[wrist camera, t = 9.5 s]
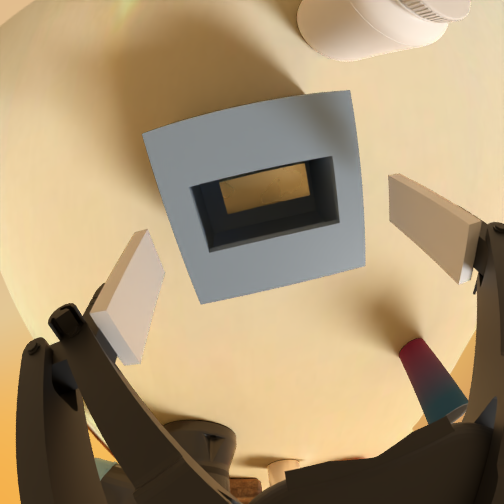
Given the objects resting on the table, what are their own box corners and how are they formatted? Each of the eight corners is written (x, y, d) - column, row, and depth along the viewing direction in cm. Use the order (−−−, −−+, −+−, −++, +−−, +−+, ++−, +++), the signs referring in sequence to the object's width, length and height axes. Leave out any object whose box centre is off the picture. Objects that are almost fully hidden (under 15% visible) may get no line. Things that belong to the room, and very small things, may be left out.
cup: (402, 337, 39) (446, 412, 26) (434, 331, 40) (478, 397, 27) (388, 365, 43) (423, 437, 29) (419, 359, 43) (455, 423, 30)
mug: (264, 471, 62) (267, 498, 55) (265, 460, 58) (270, 491, 50) (307, 465, 63) (312, 492, 56) (313, 454, 59) (320, 484, 51)
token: (227, 190, 26) (227, 214, 21) (220, 165, 25) (219, 182, 19) (292, 175, 26) (309, 195, 20) (287, 150, 25) (304, 163, 19)
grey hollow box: (207, 241, 29) (200, 304, 20) (172, 123, 23) (141, 133, 14) (324, 214, 29) (365, 265, 20) (305, 94, 23) (349, 90, 14)
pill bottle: (383, 60, 21) (500, 50, 8) (307, 67, 22) (397, 35, 9) (362, -9, 18) (458, -60, 4) (284, -7, 18) (342, -92, 5)
